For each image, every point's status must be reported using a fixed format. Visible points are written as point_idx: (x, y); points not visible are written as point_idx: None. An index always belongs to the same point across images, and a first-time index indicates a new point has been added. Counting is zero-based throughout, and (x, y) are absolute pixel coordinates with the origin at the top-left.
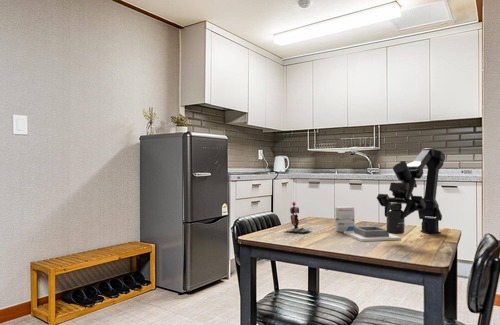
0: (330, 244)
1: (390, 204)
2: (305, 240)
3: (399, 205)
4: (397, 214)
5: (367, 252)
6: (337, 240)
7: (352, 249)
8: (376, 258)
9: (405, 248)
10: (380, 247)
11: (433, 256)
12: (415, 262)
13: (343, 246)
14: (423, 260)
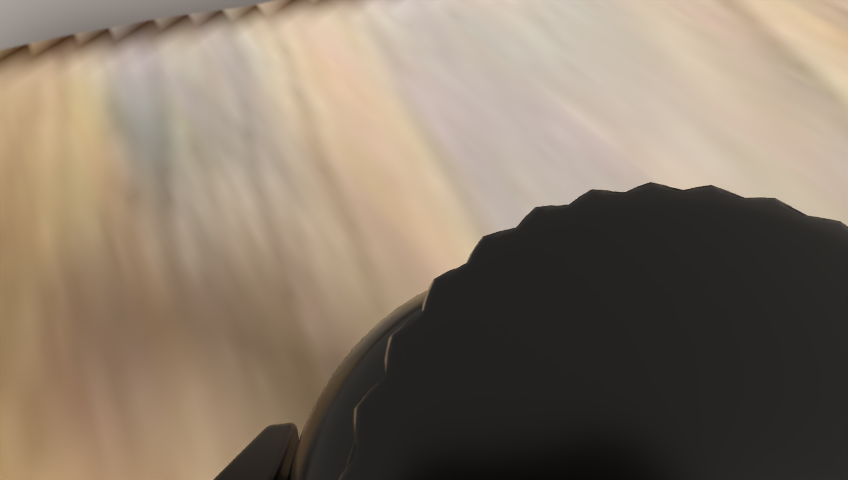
0: (678, 62)
1: (757, 215)
2: (845, 37)
3: (358, 435)
4: (368, 334)
5: (389, 64)
6: (788, 176)
7: (498, 59)
8: (274, 7)
9: (261, 365)
10: (428, 229)
11: None
12: (58, 72)
13: (592, 77)
14: (21, 137)
